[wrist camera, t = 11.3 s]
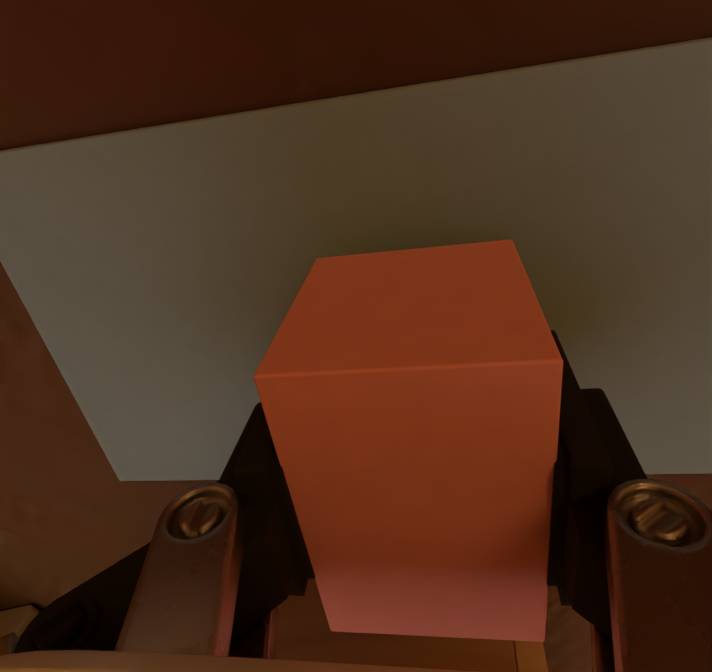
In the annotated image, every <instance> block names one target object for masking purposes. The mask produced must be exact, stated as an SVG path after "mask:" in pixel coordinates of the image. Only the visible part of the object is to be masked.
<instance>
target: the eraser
mask: <svg viewBox="0 0 712 672" xmlns="http://www.w3.org/2000/svg"><path fill="white" fill-rule="evenodd" d="M562 374H563V360H562V357H561V355H560V352H559V350H558V348H557V345H556V343H555V340H554V338H553V336H552V333H551V331H550V328H549V326H548V324H547V321H546V319H545V317H544V314H543V312H542V309H541V307H540V305H539V302H538V300H537V297H536V295H535V293H534V290H533V288H532V286H531V283H530V281H529V278H528V276H527V274H526V271H525V269H524V266H523V264H522V262H521V259H520V257H519V254H518V252H517V250H516V247H515V245H514V243H513V240H500V241H489V242H479V243H469V244H458V245H448V246H438V247H427V248H417V249H407V250H397V251H386V252H376V253H366V254H355V255H345V256H335V257H324V258H317V259H316V261H315V262H314V264H313V266H312V268H311V270H310V272H309V274H308V276H307V277H306V279H305V281H304V283H303V285H302V287H301V289H300V290H299V292H298V294H297V296H296V298H295V300H294V302H293V303H292V305H291V307H290V309H289V311H288V313H287V315H286V316H285V318H284V320H283V322H282V324H281V326H280V328H279V330H278V331H277V333H276V335H275V337H274V339H273V341H272V343H271V344H270V346H269V348H268V350H267V352H266V354H265V356H264V357H263V359H262V361H261V363H260V365H259V367H258V369H257V370H256V372H255V374H254V381H255V384H256V387H257V391H258V394H259V397H260V401H261V404H262V407H263V410H264V414H265V417H266V420H267V424H268V427H269V430H270V433H271V437H272V440H273V443H274V446H275V450H276V453H277V456H278V460H279V463H280V466H282V468H283V472H284V475H285V478H286V482H287V485H288V488H289V491H290V495H291V498H292V501H293V505H294V508H295V511H296V515H297V518H298V521H299V524H300V528H301V531H302V534H303V538H304V541H305V544H306V548H307V551H308V554H309V558H310V561H311V564H312V567H313V571H314V574H315V577H316V578H315V581H316V584H317V588H318V591H319V594H320V597H321V601H322V604H323V607H324V611H325V614H326V617H327V620H328V624H329V627H330V630H331V631H335V632H355V633H375V634H395V635H415V636H435V637H455V638H475V639H496V640H516V641H536V642H543V641H544V640H545V629H546V614H547V599H548V586H547V569H548V553H549V538H550V522H551V506H552V491H553V475H554V463H555V462H556V460H557V449H558V434H559V419H560V404H561V389H562Z"/></svg>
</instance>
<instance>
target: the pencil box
mask: <svg viewBox="0 0 712 672" xmlns="http://www.w3.org/2000/svg"><path fill="white" fill-rule="evenodd" d="M276 659H279V660H297V661H313V662H330V663H346V664H363V665H379V666H395V667H411V668H427V669H443V670H459V671H475V672H548V667H547V662H546V656H545V651H544V646H543V642H536V641H516V640H496V639H475V638H455V637H435V636H415V635H395V634H375V633H355V632H335V631H331V630H330V627H329V624H328V620H327V617H326V614H325V611H324V607H323V604H322V601H321V597H320V594H319V591H318V588H317V584H316V581H315V579H308V582H307V586H306V591H305V595H304V596H291V595H288V599H286V600H285V601H284V602H282V603H281V604H280V605H278V629H277V645H276Z"/></svg>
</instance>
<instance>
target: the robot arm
mask: <svg viewBox="0 0 712 672" xmlns="http://www.w3.org/2000/svg"><path fill="white" fill-rule="evenodd" d="M550 331H551V333H552V336H553V338H554V340H555V343H556V345H557V348H558V350H559V352H560V355H561V357H562V360H563V374H562V389H561V404H560V419H559V434H558V449H557V460H556V462H555V463H554V475H553V491H552V506H551V522H550V538H549V553H548V569H547V586H557V588H558V592H559V596H560V601H561V605H570V606H572V608H573V610H575V611H576V612H577V613H578V614H580V615H581V616H582V617H584V618H585V619H586V620H587V621H589V622H590V623H591V624H590V633H591V654H592V672H712V511H711V510H710V509H709V508H708V507H707V506H706V505H705V504H704V503H703V502H702V501H701V500H700V499H699V498H698V497H696V496H695V495H693V494H692V493H690V492H689V491H687V490H685V489H683V488H681V487H678V486H676V485H674V484H671V483H668V482H663V481H659V480H655V479H647V477H646V475H645V473H644V471H643V469H642V467H641V465H640V463H639V461H638V459H637V457H636V455H635V453H634V451H633V449H632V447H631V445H630V443H629V441H628V439H627V437H626V435H625V433H624V431H623V429H622V427H621V424H620V422H619V420H618V418H617V416H616V414H615V412H614V410H613V408H612V406H611V404H610V402H609V400H608V398H607V396H606V394H605V393H604V391H603V390H602V389H600V388H587V389H580V387H579V384H578V382H577V380H576V378H575V375H574V373H573V371H572V368H571V366H570V364H569V361H568V359H567V357H566V355H565V352H564V350H563V348H562V345H561V343H560V341H559V338H558V336H557V334H556V332H555V330H550ZM315 578H316V577H315V574H314V571H313V567H312V564H311V561H310V558H309V554H308V551H307V548H306V544H305V541H304V538H303V534H302V531H301V528H300V524H299V521H298V518H297V515H296V511H295V508H294V505H293V501H292V498H291V495H290V491H289V488H288V485H287V482H286V478H285V475H284V472H283V468H282V466H280V463H279V460H278V456H277V453H276V450H275V446H274V443H273V440H272V437H271V433H270V430H269V427H268V424H267V420H266V417H265V414H264V410H263V407H262V404H261V402H259V403H257V404H256V406H255V407H254V409H253V411H252V413H251V415H250V417H249V419H248V421H247V423H246V426H245V428H244V430H243V432H242V434H241V436H240V438H239V440H238V442H237V444H236V446H235V448H234V450H233V452H232V454H231V456H230V458H229V460H228V463H227V465H226V467H225V469H224V471H223V473H222V475H221V477H220V479H219V481H218V483H205V484H201V485H198V486H194V487H192V488H190V489H188V490H186V491H184V492H182V493H181V494H180V495H178V496H177V497H176V498H174V499H173V500H172V501H171V502H170V503H169V504H168V505H167V507H166V508H165V509H164V510H163V512H162V514H161V516H160V518H159V520H158V523H157V526H156V529H155V532H154V535H153V538H152V541H151V542H150V543H148V544H147V545H145V546H143V547H142V548H140V549H138V550H137V551H135V552H133V553H132V554H130V555H129V556H127V557H125V558H124V559H122V560H120V561H119V562H117V563H115V564H114V565H112V566H111V567H109V568H107V569H106V570H104V571H102V572H101V573H99V574H97V575H96V576H94V577H93V578H91V579H89V580H88V581H86V582H84V583H83V584H81V585H79V586H78V587H76V588H75V589H73V590H71V591H70V592H68V593H66V594H65V595H63V596H61V597H60V598H58V599H56V600H55V601H54V602H52V603H51V604H50V605H48V606H47V607H46V608H44V609H43V610H42V611H41V612H40V613H39V614H38V615H37V616H36V617H35V618H34V619H33V620H32V621H31V622H30V623H29V625H28V626H27V627H26V629H25V630H24V632H23V633H22V635H21V636H20V637H18V636H17V635H16V634H15V632H12V633H10V634H7V635H5V636H3V637H1V638H0V672H475V671H459V670H443V669H427V668H411V667H395V666H379V665H363V664H346V663H330V662H313V661H297V660H279V659H276V645H277V629H278V605H280V604H281V603H282V602H284V601H285V600H286V599H288V595H291V596H304V595H305V591H306V586H307V582H308V579H315Z"/></svg>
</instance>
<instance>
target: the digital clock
mask: <svg viewBox="0 0 712 672" xmlns="http://www.w3.org/2000/svg"><path fill="white" fill-rule="evenodd" d="M40 612H41V611H40V610H38V609H36V608H35V607H34V606H32V605H27V606H22V607H18V608H14V609H9V610H5V611H1V612H0V638H1V637H3V636H5V635H7V634H10V633H12V632H15V634H16V635H17V636H18V637H20V636H21V635H22V633H23V632H24V630H25V629H26V627H27V626H28V625H29V623H30V622H31V621H32V620H33V619H34V618H35V617H36V616H37V615H38V614H39V613H40Z"/></svg>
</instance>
